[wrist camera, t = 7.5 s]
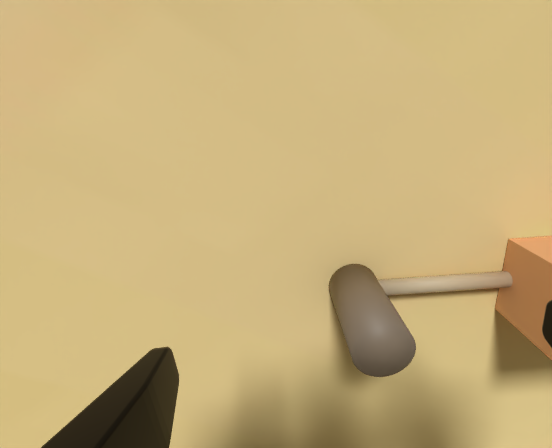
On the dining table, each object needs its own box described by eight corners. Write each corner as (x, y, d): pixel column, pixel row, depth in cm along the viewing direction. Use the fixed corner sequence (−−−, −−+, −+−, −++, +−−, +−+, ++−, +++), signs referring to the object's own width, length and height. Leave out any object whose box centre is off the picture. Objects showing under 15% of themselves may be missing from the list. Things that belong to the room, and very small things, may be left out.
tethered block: (590, 233, 21) (712, 284, 15) (570, 303, 22) (672, 372, 17) (328, 250, 20) (352, 308, 15) (329, 320, 22) (350, 394, 17)
